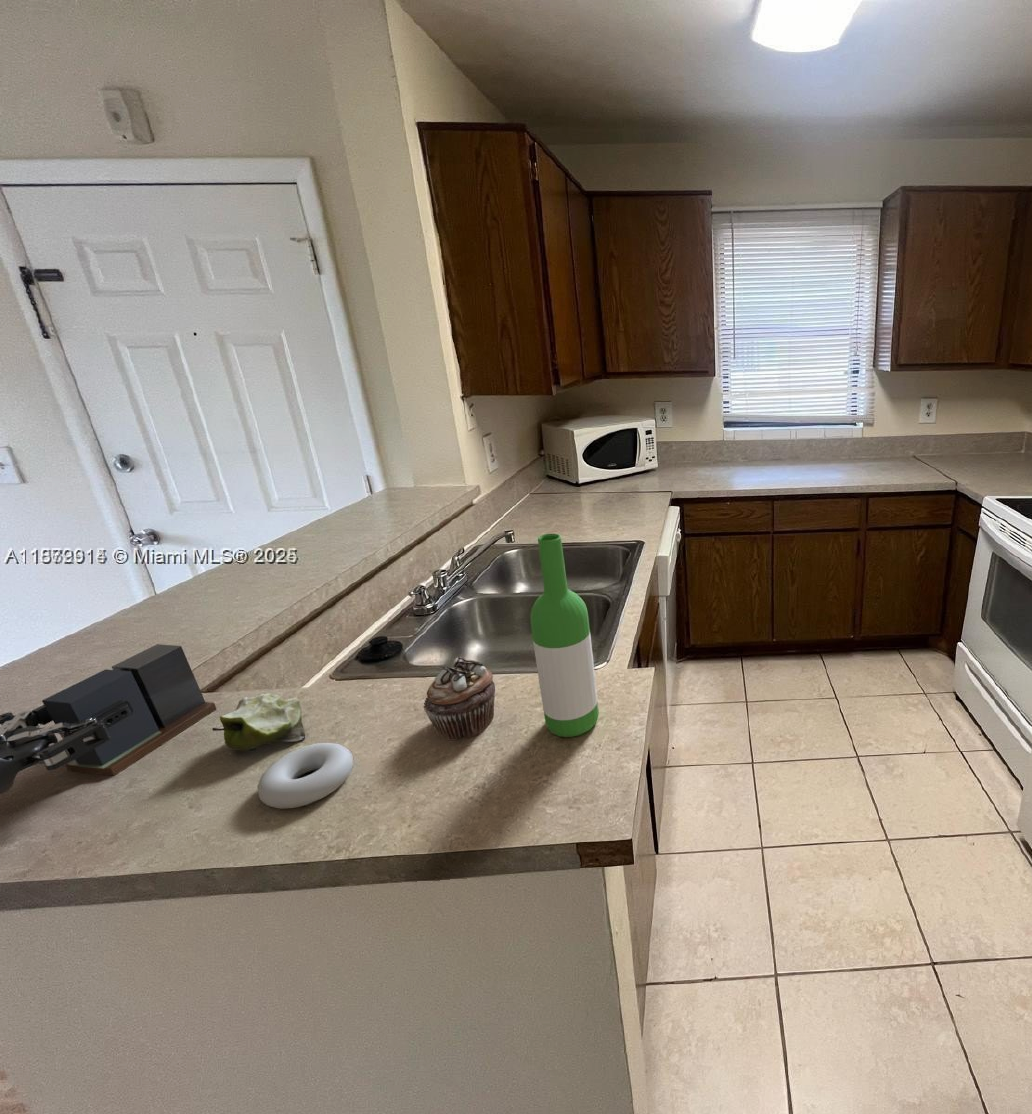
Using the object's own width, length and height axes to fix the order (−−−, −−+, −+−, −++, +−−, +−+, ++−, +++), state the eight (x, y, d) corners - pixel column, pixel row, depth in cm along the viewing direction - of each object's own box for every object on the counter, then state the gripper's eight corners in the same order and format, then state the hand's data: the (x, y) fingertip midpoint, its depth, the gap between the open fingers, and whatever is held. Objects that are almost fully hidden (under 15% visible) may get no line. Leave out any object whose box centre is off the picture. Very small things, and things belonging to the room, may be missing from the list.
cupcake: (458, 698, 90) (446, 644, 86) (513, 707, 89) (503, 652, 85) (414, 738, 82) (399, 680, 78) (474, 749, 80) (461, 690, 76)
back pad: (103, 765, 74) (69, 703, 70) (76, 762, 75) (41, 700, 71) (159, 730, 81) (131, 671, 77) (134, 727, 81) (105, 669, 77)
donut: (243, 802, 71) (297, 824, 68) (233, 781, 70) (289, 802, 66) (322, 750, 80) (374, 767, 76) (315, 730, 78) (367, 747, 75)
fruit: (245, 777, 76) (209, 733, 73) (235, 749, 82) (201, 707, 79) (321, 733, 82) (291, 691, 78) (306, 709, 88) (277, 669, 84)
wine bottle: (543, 743, 81) (513, 550, 69) (548, 710, 88) (522, 528, 76) (598, 736, 83) (578, 545, 71) (600, 704, 90) (581, 525, 78)
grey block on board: (66, 771, 75) (26, 702, 71) (176, 705, 88) (148, 643, 84) (113, 776, 74) (75, 706, 70) (217, 709, 87) (190, 646, 83)
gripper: (-35, 775, 58) (136, 683, 73) (-151, 763, 60) (41, 674, 75) (1, 829, 61) (159, 729, 76) (-111, 815, 63) (66, 720, 78)
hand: (100, 702), depth 75 cm, fingers open, 8 cm apart
